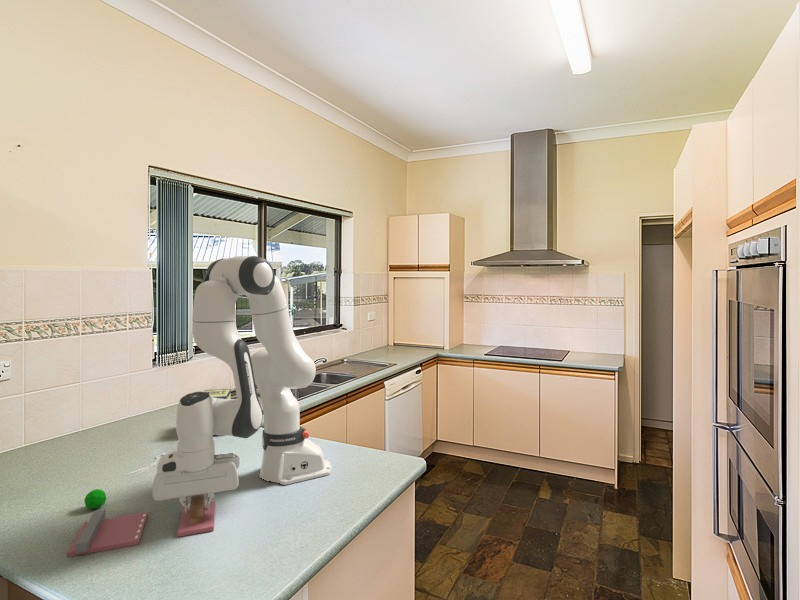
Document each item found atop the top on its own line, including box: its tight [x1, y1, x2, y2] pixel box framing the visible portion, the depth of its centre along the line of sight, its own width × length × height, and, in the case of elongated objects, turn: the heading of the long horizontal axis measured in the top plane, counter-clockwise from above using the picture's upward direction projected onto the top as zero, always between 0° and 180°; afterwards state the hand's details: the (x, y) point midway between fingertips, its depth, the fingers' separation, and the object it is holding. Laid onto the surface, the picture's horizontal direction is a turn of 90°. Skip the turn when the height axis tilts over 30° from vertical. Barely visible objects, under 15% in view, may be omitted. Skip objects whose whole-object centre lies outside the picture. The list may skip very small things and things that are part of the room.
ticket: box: [66, 509, 149, 558], centre depth 113 cm, size 14×16×3 cm
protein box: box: [203, 388, 232, 437], centre depth 190 cm, size 10×16×16 cm
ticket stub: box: [177, 494, 216, 538], centre depth 119 cm, size 8×14×6 cm, turn 20°
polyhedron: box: [84, 488, 107, 510], centre depth 126 cm, size 5×5×5 cm
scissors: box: [122, 452, 166, 478], centre depth 155 cm, size 11×1×20 cm
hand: (197, 510), depth 119 cm, fingers closed on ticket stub, 3 cm apart
